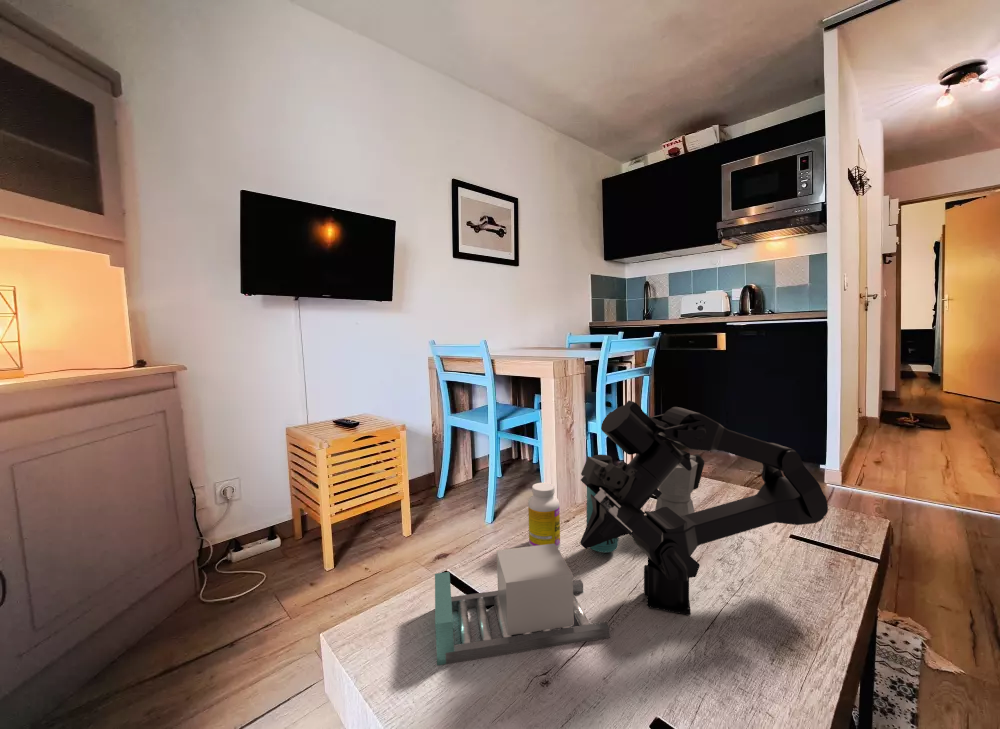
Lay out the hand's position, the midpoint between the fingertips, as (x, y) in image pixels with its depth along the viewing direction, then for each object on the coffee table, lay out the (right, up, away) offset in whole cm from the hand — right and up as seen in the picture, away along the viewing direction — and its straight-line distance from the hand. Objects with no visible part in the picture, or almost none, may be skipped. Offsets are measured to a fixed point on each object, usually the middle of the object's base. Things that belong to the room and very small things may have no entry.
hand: (582, 546), depth 65 cm
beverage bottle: (+8, -10, +19) cm, 22 cm away
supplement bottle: (-4, -10, +22) cm, 24 cm away
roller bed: (-10, -12, -1) cm, 15 cm away
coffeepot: (+28, -8, +29) cm, 41 cm away
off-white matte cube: (-8, -10, -1) cm, 13 cm away
